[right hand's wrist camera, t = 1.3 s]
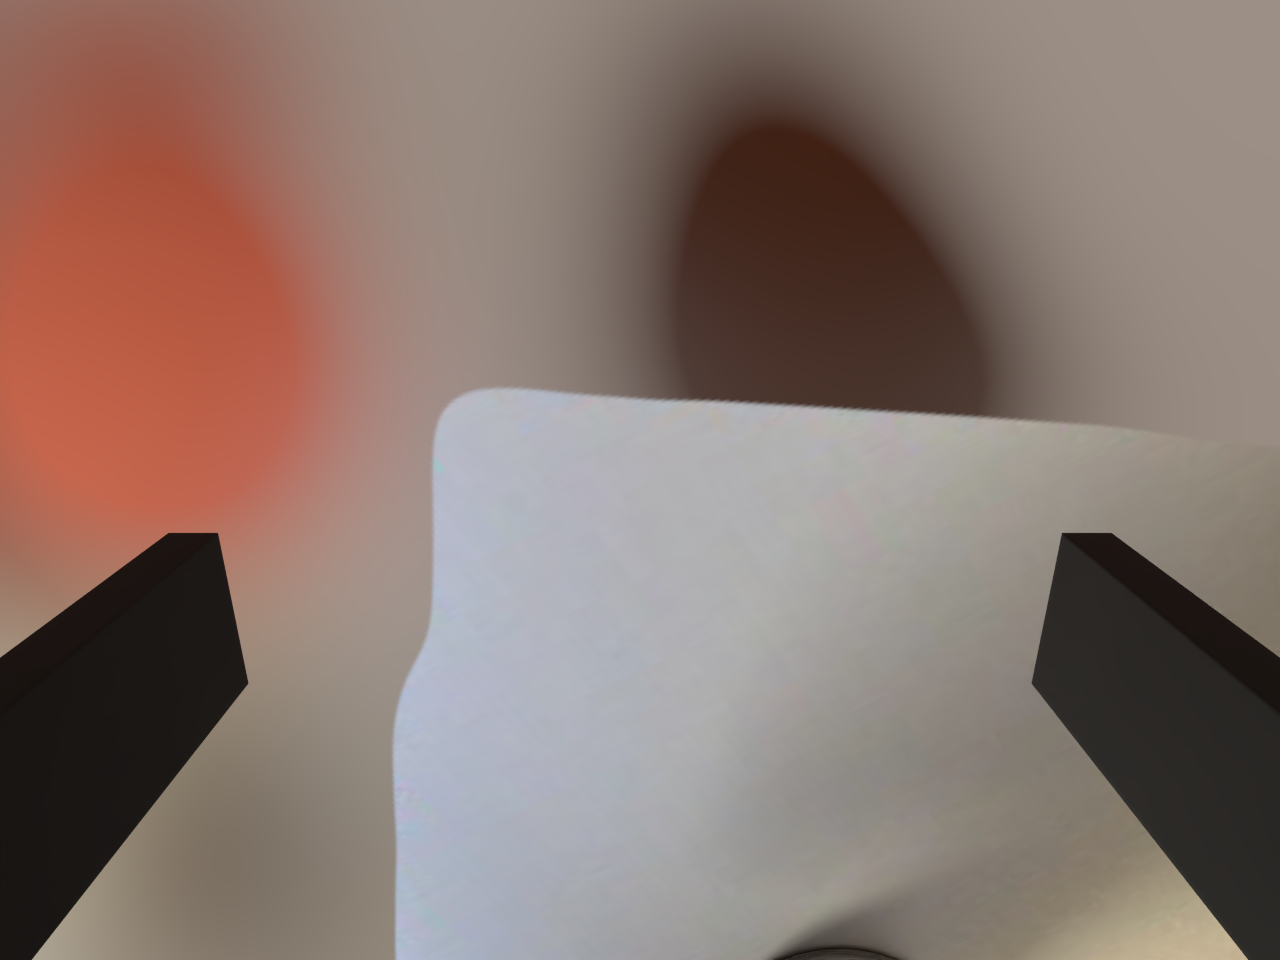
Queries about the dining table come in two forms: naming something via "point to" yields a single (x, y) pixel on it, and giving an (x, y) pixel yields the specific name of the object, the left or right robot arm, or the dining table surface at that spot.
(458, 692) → the dining table surface
